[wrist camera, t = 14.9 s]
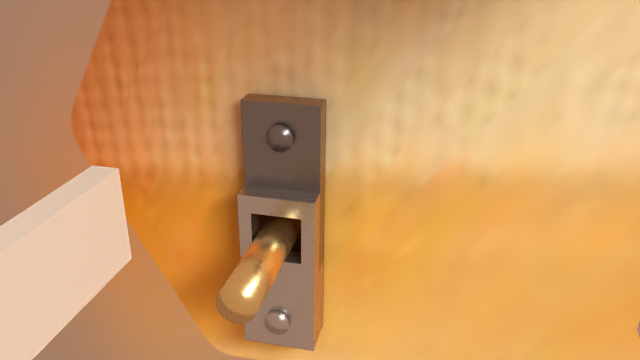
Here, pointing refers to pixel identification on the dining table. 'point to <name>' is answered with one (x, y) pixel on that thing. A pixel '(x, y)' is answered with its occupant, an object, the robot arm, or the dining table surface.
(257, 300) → the brass pin
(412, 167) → the dining table surface
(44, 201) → the robot arm
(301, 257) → the riveted square sleeve
